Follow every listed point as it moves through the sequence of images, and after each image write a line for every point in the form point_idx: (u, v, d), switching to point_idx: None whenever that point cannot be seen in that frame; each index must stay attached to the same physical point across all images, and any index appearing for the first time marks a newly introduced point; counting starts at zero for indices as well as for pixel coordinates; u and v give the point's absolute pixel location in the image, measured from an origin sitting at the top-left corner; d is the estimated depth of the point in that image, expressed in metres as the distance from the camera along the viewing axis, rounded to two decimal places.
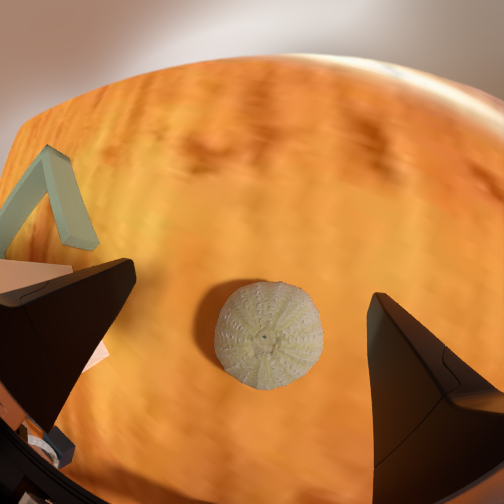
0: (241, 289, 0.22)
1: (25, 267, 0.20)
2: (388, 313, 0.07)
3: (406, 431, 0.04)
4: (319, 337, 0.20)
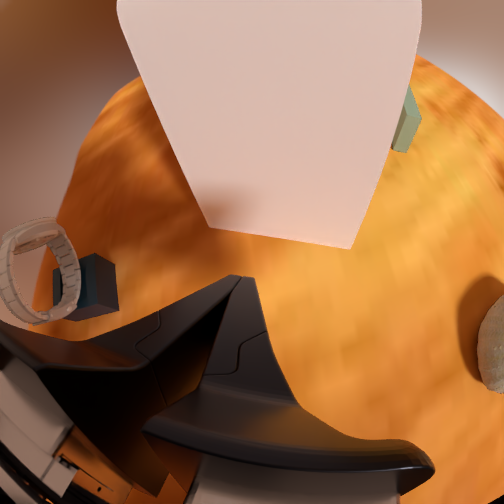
0: None
1: None
2: (231, 294, 0.07)
3: None
4: None
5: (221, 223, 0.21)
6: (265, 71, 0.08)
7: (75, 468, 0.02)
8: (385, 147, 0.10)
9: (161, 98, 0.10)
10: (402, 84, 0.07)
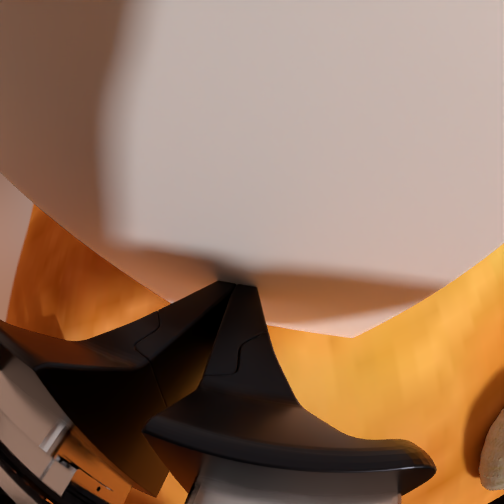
0: None
1: None
2: (232, 294, 0.07)
3: None
4: None
5: None
6: (154, 139, 0.03)
7: (74, 468, 0.02)
8: (443, 281, 0.05)
9: (26, 188, 0.05)
10: None
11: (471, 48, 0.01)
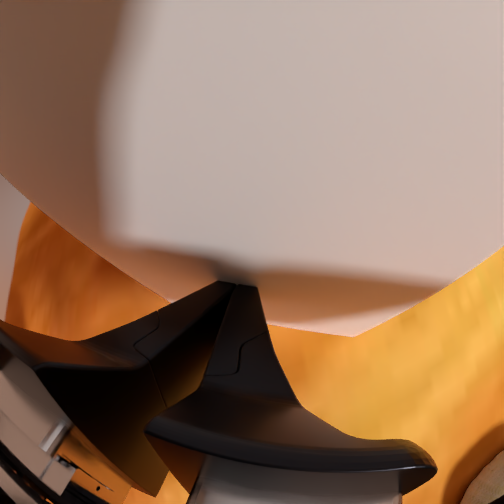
0: None
1: None
2: (232, 294, 0.07)
3: None
4: None
5: None
6: (154, 136, 0.03)
7: (74, 467, 0.02)
8: (446, 280, 0.05)
9: (24, 187, 0.05)
10: None
11: (480, 45, 0.01)
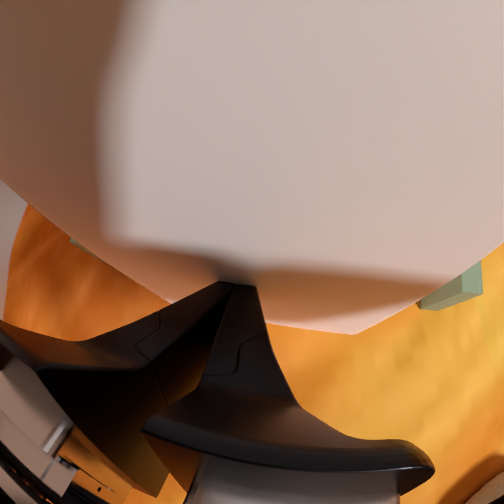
0: None
1: None
2: (231, 294, 0.07)
3: None
4: None
5: None
6: (148, 130, 0.03)
7: (75, 468, 0.02)
8: (449, 276, 0.05)
9: (19, 187, 0.05)
10: None
11: (484, 31, 0.01)
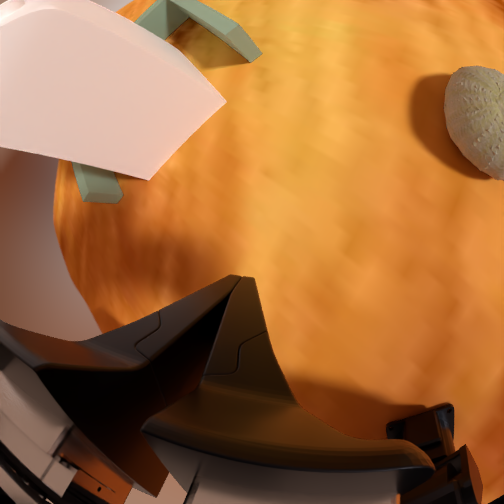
0: (463, 67, 0.11)
1: (135, 24, 0.17)
2: (231, 294, 0.07)
3: None
4: None
5: (149, 170, 0.25)
6: (57, 92, 0.12)
7: (75, 468, 0.02)
8: (136, 47, 0.13)
9: (41, 148, 0.15)
10: (97, 28, 0.10)
11: (63, 47, 0.09)
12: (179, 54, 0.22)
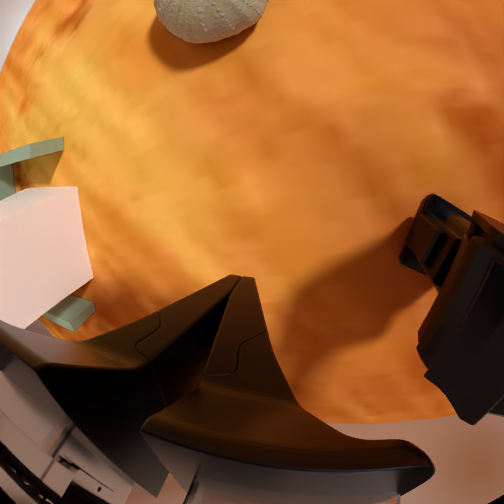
0: None
1: None
2: (231, 294, 0.07)
3: None
4: None
5: (85, 272, 0.28)
6: None
7: (75, 468, 0.02)
8: None
9: None
10: None
11: None
12: (28, 192, 0.24)
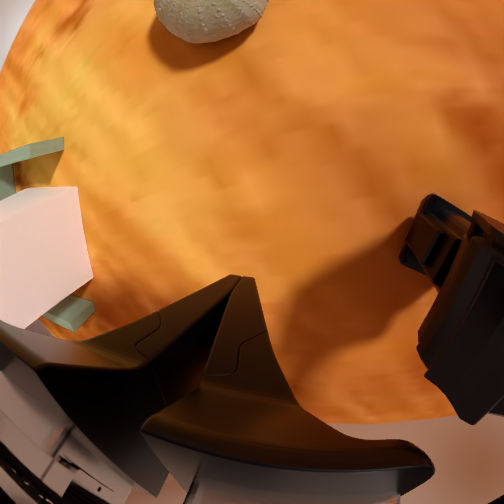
0: None
1: None
2: (231, 294, 0.07)
3: None
4: None
5: (85, 272, 0.28)
6: None
7: (75, 468, 0.02)
8: None
9: None
10: None
11: None
12: (28, 192, 0.24)
